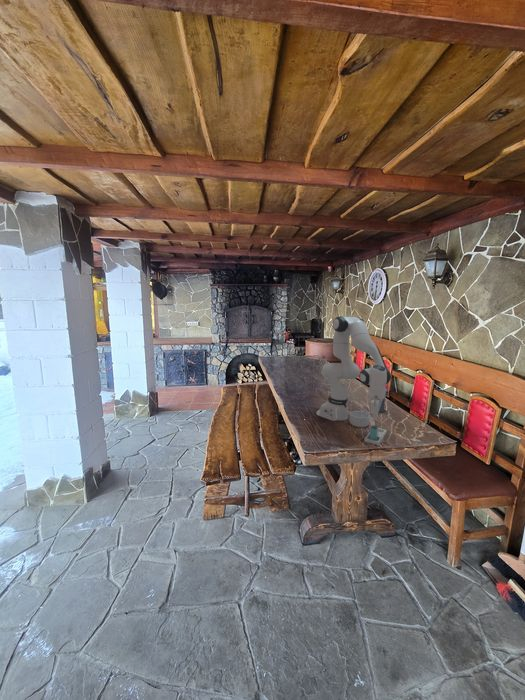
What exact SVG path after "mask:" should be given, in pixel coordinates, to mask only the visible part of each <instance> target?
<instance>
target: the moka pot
mask: <svg viewBox="0 0 525 700" xmlns="http://www.w3.org/2000/svg"><path fill="white" fill-rule="evenodd" d="M389 393H390V391H389V390H388V388H386V396H385V399H383V401H382V403H381V406H380V409H379V412H378V414H379V413H381V414H382V413H385V410H386V408H385V405H386V404H385V403H386V402H385V401H386V398H387V396H388V394H389Z"/></svg>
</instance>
